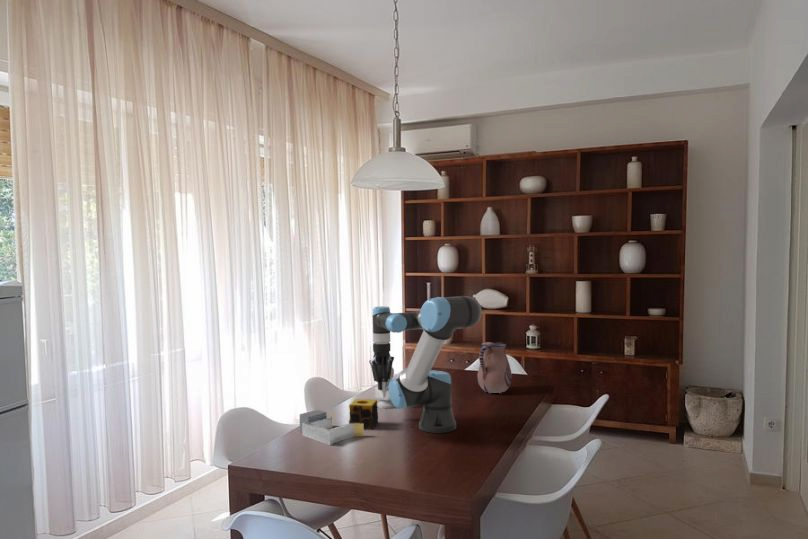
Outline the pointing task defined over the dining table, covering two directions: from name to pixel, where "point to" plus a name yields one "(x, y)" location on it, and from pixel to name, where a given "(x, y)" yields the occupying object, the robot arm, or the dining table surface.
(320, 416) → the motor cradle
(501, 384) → the ceramic pitcher
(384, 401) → the figurine
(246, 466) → the dining table surface
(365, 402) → the yellow and black cube
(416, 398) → the robot arm
